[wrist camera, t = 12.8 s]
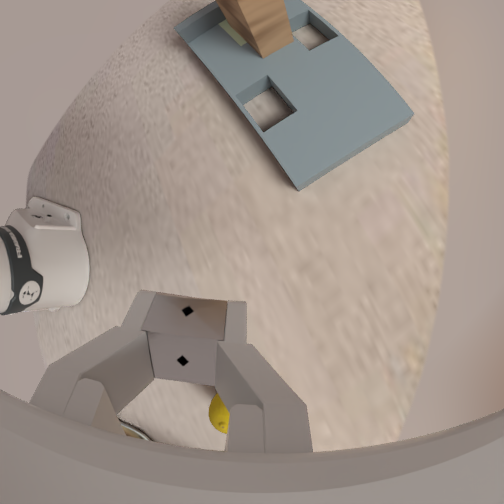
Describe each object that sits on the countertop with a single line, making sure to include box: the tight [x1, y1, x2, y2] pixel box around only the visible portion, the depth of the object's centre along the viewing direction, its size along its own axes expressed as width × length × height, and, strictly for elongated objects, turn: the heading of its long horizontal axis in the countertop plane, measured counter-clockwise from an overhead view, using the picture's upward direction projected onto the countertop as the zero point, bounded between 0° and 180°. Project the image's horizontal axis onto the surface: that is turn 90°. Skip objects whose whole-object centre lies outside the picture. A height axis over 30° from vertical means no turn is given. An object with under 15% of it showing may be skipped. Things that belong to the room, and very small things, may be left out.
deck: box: [174, 0, 414, 191], centre depth 29 cm, size 26×16×6 cm, turn 33°
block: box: [216, 0, 294, 59], centre depth 23 cm, size 8×4×12 cm, turn 33°
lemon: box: [209, 393, 230, 434], centre depth 32 cm, size 6×6×8 cm
